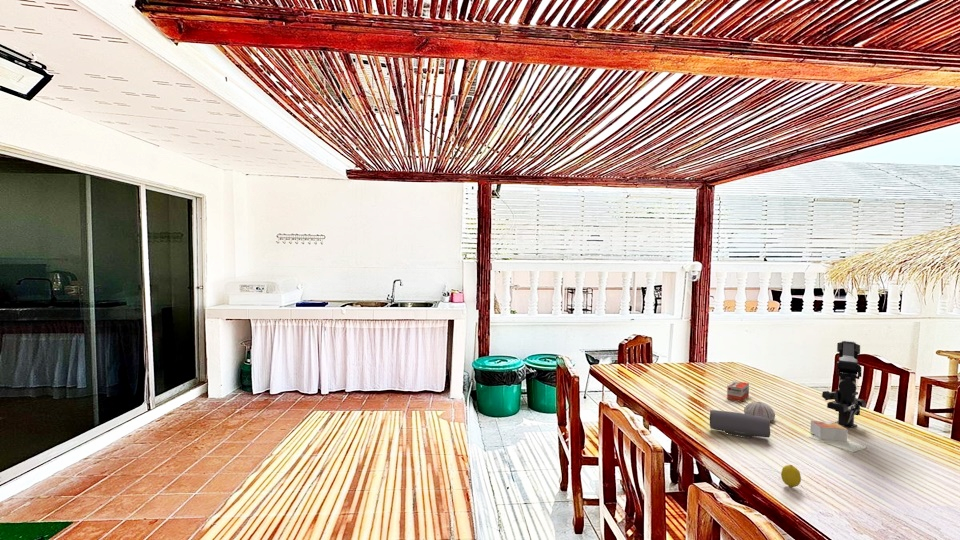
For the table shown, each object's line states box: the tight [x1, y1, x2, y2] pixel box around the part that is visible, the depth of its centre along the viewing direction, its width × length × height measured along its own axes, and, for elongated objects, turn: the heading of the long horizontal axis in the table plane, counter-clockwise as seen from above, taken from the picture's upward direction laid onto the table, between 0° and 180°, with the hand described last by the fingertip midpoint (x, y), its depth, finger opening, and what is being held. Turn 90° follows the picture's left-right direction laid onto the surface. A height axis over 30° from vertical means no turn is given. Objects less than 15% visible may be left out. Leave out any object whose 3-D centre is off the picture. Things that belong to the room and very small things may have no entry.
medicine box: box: [726, 380, 750, 403], centre depth 243 cm, size 15×8×8 cm, turn 136°
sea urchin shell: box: [743, 401, 776, 422], centre depth 212 cm, size 13×14×8 cm
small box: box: [809, 420, 848, 441], centre depth 189 cm, size 8×6×10 cm
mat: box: [809, 434, 867, 453], centre depth 183 cm, size 11×16×1 cm
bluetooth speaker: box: [709, 409, 771, 439], centre depth 190 cm, size 23×9×10 cm, turn 65°
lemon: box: [780, 464, 802, 489], centre depth 146 cm, size 6×6×8 cm
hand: (846, 423), depth 186 cm, fingers closed
